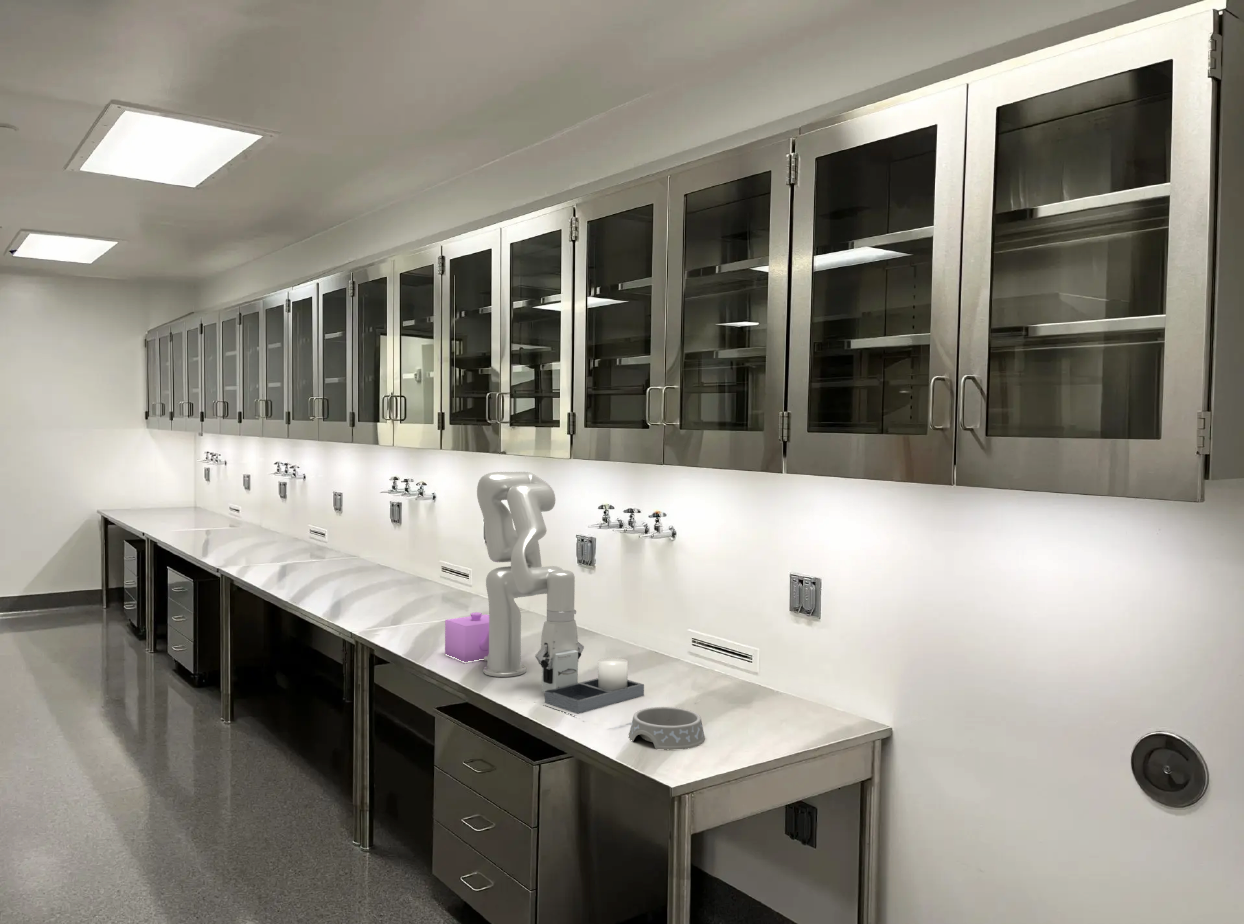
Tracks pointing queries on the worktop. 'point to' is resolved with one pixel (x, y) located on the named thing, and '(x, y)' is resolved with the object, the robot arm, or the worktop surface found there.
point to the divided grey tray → (590, 696)
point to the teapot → (467, 637)
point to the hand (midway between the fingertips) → (559, 679)
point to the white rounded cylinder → (612, 674)
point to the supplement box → (563, 670)
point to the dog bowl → (668, 727)
